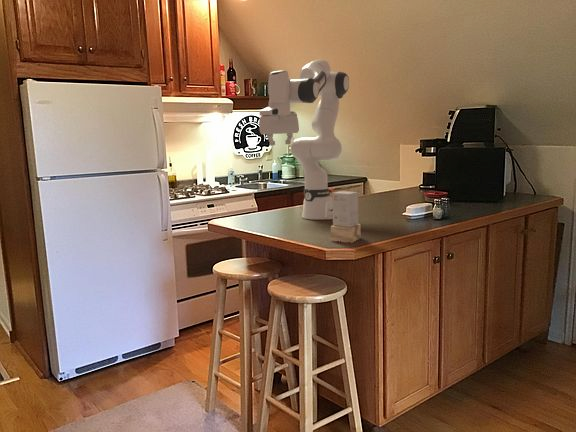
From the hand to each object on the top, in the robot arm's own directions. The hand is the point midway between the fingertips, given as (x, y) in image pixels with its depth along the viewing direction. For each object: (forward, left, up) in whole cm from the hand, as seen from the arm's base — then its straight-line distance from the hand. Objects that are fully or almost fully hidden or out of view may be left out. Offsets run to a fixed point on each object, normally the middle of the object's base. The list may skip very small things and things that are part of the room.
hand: (280, 144), depth 217 cm
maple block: (-5, +30, -37) cm, 48 cm away
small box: (-5, +30, -31) cm, 44 cm away
